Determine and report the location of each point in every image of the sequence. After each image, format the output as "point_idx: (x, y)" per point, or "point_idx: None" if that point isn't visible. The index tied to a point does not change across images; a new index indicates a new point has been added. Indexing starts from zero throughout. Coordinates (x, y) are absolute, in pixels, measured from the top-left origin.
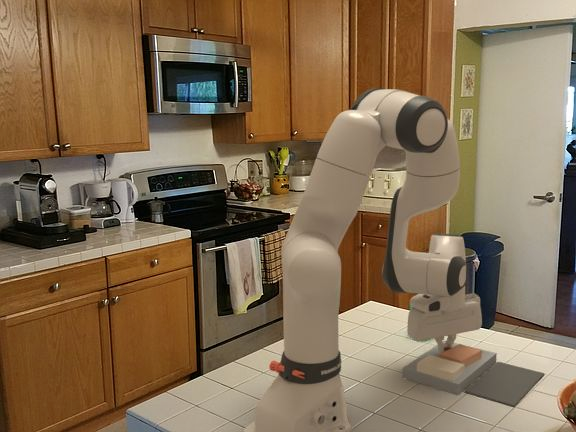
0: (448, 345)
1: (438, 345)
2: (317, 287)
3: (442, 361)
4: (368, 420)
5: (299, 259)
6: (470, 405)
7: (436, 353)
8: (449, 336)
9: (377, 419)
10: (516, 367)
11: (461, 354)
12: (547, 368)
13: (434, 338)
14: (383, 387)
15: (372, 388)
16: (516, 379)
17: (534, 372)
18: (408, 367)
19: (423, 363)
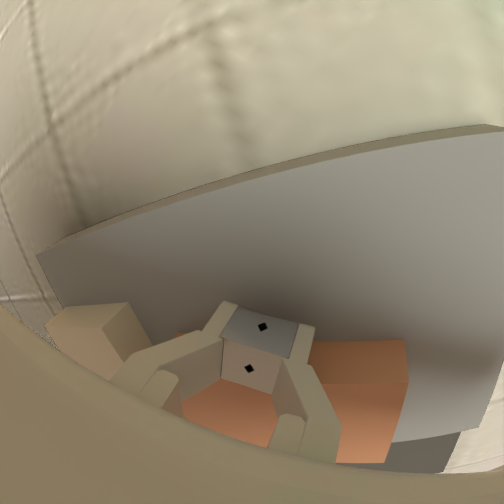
0: (257, 389)
1: (206, 328)
2: None
3: None
4: (5, 306)
5: None
6: None
7: (244, 260)
8: (268, 442)
9: (13, 314)
10: (448, 441)
11: (256, 434)
12: (487, 454)
13: (133, 354)
14: (22, 244)
15: (8, 230)
16: (358, 465)
17: (436, 465)
18: (50, 268)
19: (61, 345)
